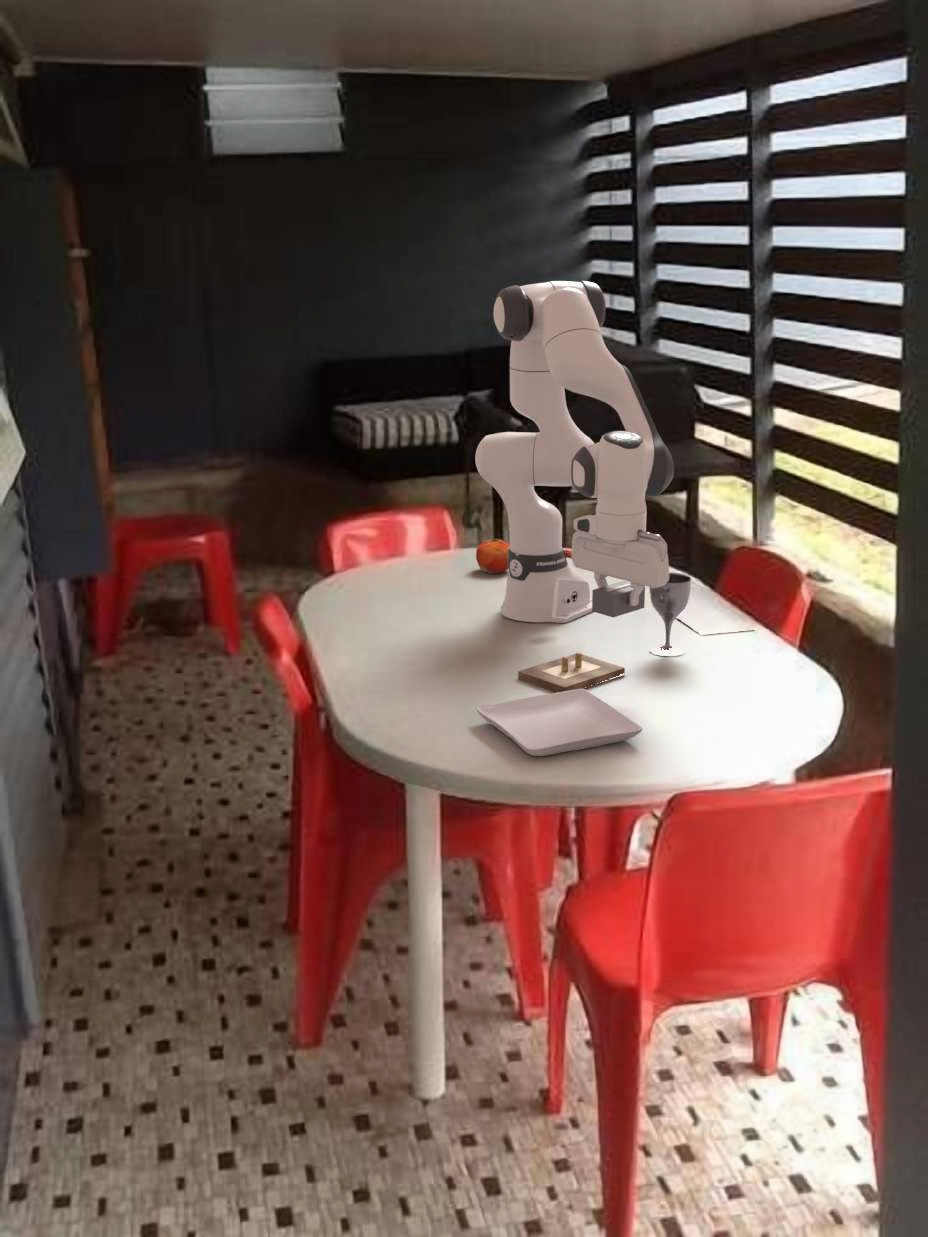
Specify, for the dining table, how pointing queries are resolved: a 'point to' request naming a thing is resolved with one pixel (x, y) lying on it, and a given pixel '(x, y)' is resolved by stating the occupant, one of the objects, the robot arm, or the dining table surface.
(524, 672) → the pin board
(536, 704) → the salad plate
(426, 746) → the dining table surface
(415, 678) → the dining table surface
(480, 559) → the tomato
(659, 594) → the wine glass
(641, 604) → the socket block
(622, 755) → the dining table surface
